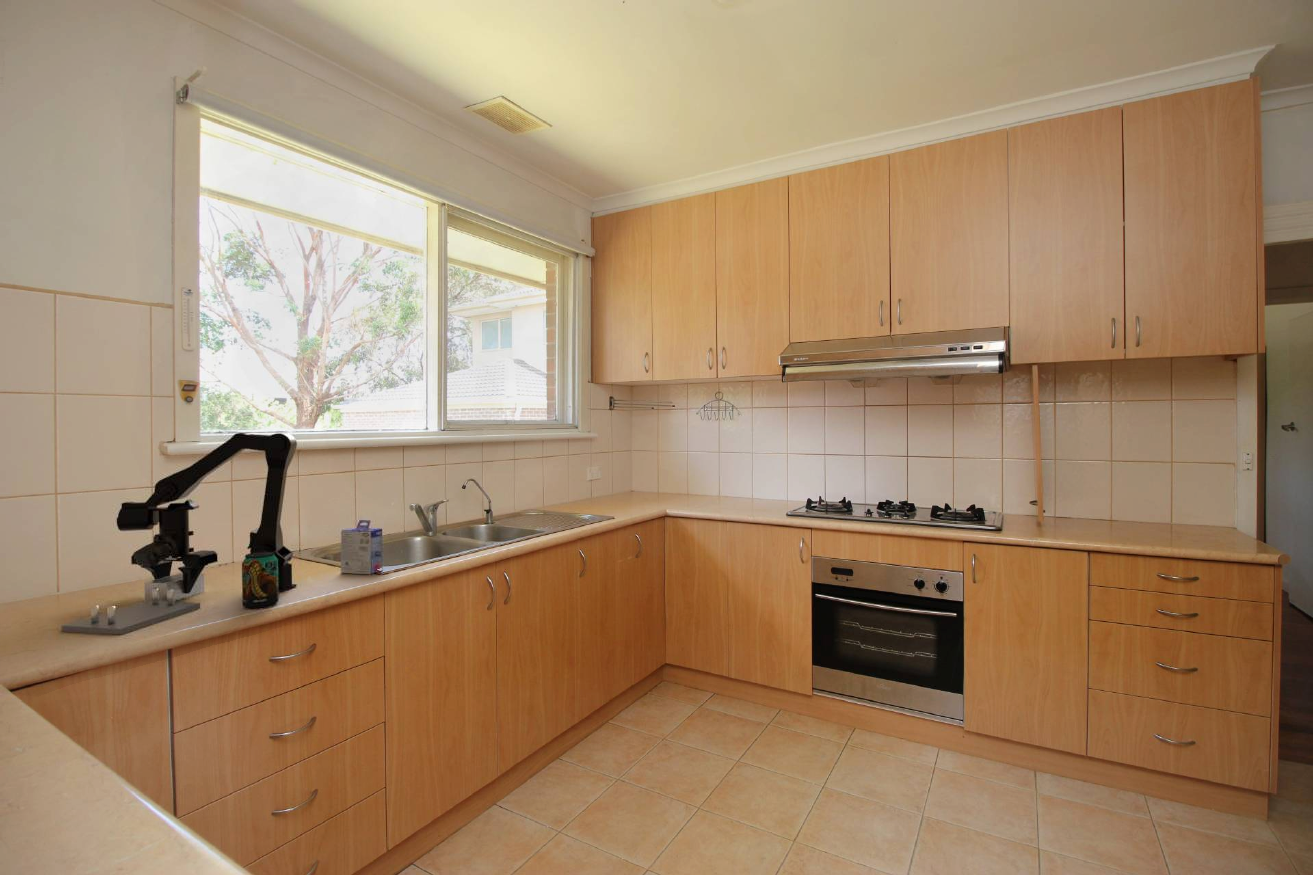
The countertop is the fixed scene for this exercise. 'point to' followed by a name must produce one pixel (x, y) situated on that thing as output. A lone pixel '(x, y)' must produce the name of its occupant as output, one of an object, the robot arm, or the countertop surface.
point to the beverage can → (259, 580)
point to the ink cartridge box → (361, 549)
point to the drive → (173, 587)
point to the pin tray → (131, 615)
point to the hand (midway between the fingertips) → (175, 592)
